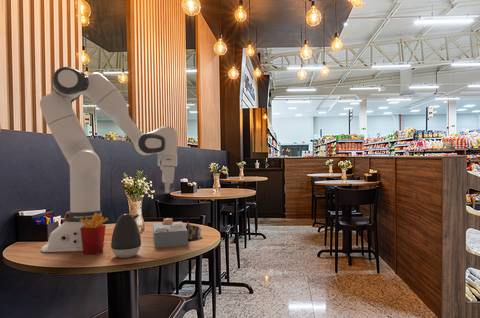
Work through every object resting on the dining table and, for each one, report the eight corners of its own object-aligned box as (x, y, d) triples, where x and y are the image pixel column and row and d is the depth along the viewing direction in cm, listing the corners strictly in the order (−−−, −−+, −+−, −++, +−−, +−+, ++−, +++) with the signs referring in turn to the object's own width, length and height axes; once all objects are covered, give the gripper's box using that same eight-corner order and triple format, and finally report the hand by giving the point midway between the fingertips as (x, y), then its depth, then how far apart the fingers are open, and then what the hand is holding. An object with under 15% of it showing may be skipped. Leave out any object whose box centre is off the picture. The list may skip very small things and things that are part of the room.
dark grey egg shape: (147, 254, 121) (147, 212, 121) (123, 261, 112) (122, 216, 112) (129, 250, 126) (129, 210, 127) (105, 257, 118) (104, 214, 118)
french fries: (79, 255, 121) (79, 213, 122) (92, 249, 130) (92, 210, 130) (101, 255, 120) (101, 214, 120) (113, 249, 128) (113, 210, 129)
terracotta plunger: (163, 231, 148) (163, 219, 148) (163, 229, 152) (163, 218, 152) (172, 230, 149) (172, 219, 150) (172, 228, 153) (172, 218, 153)
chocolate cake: (202, 242, 142) (205, 219, 150) (186, 238, 140) (190, 215, 149) (196, 253, 148) (198, 231, 156) (180, 250, 146) (184, 227, 155)
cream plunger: (172, 236, 140) (172, 224, 141) (171, 234, 144) (171, 223, 144) (181, 235, 142) (181, 224, 142) (180, 234, 145) (180, 222, 146)
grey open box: (154, 248, 130) (154, 232, 130) (153, 236, 152) (153, 223, 152) (187, 245, 134) (187, 230, 134) (181, 234, 156) (181, 221, 156)
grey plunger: (157, 241, 132) (156, 228, 132) (156, 239, 136) (156, 227, 136) (167, 240, 133) (167, 228, 133) (166, 238, 137) (166, 226, 137)
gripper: (159, 162, 161) (159, 191, 160) (161, 161, 141) (161, 194, 140) (172, 162, 162) (172, 191, 162) (176, 162, 143) (176, 194, 142)
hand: (167, 192), depth 151 cm, fingers closed
